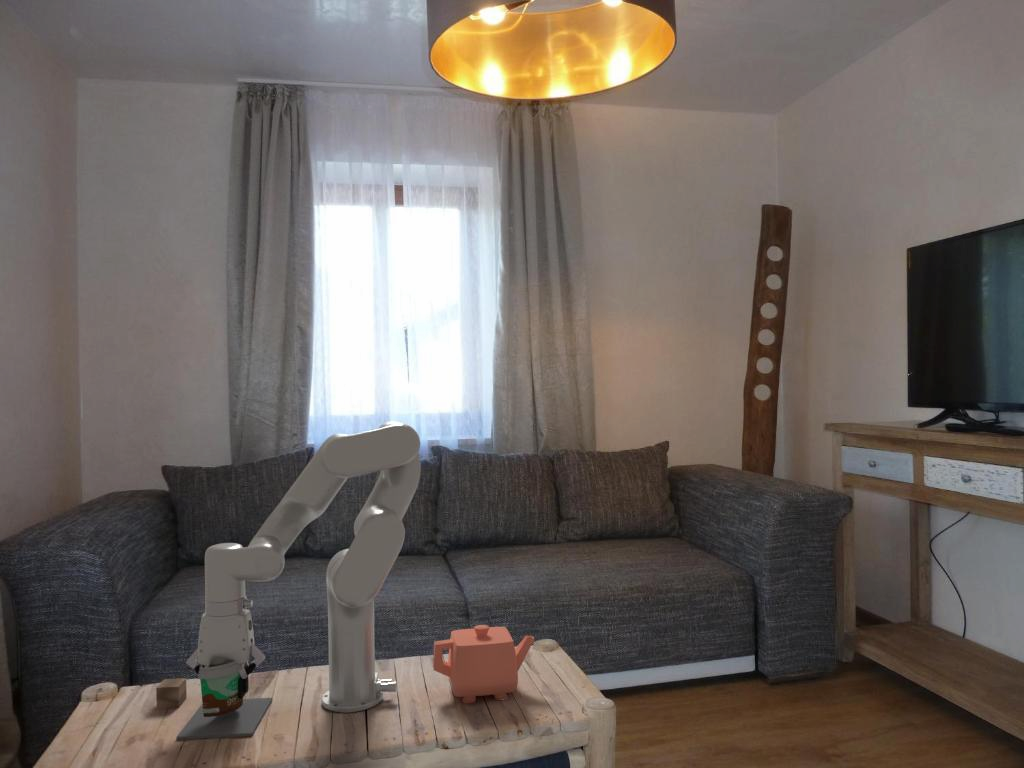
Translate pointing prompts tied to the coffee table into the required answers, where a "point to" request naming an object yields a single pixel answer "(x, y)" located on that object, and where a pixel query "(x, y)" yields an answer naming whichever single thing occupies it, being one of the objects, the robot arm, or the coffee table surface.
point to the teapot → (481, 661)
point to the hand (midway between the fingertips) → (226, 696)
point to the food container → (220, 689)
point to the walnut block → (171, 693)
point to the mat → (227, 721)
